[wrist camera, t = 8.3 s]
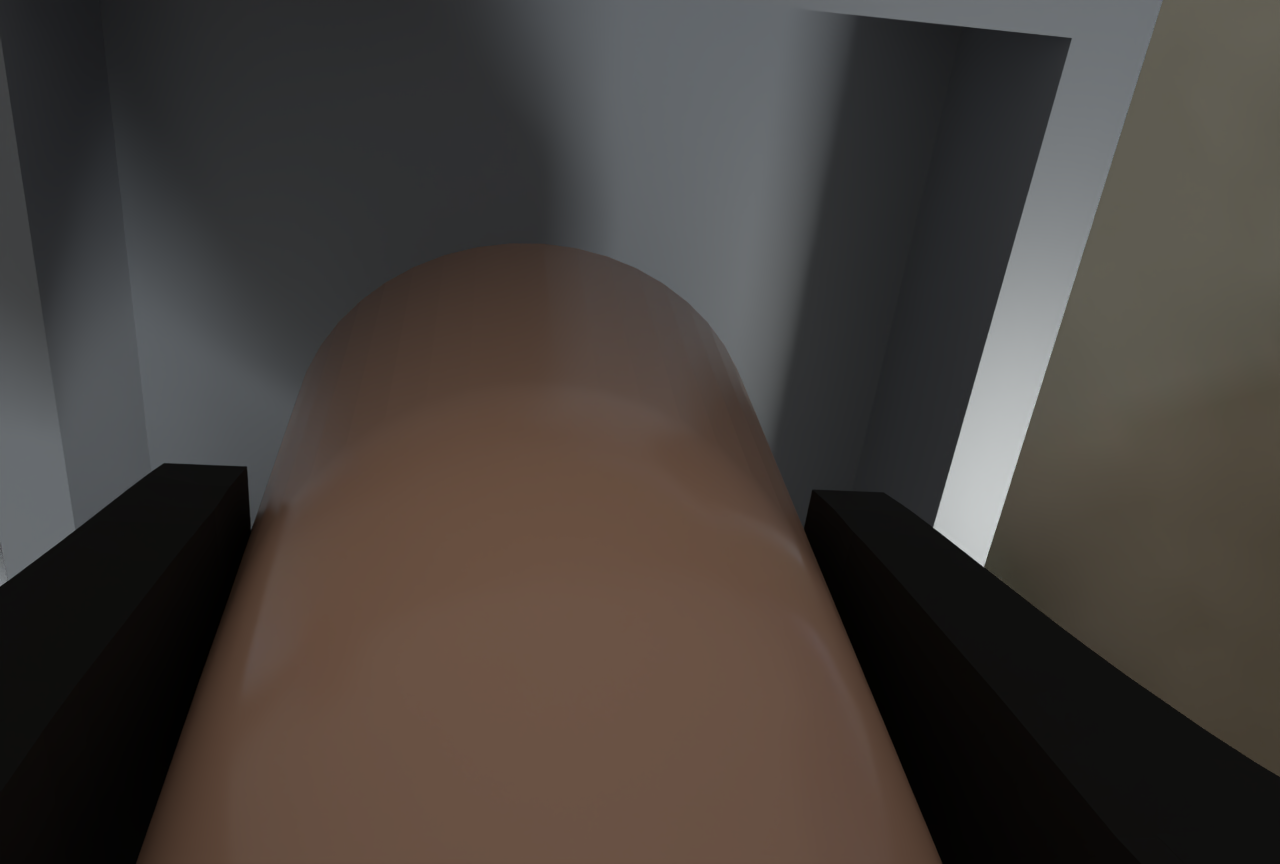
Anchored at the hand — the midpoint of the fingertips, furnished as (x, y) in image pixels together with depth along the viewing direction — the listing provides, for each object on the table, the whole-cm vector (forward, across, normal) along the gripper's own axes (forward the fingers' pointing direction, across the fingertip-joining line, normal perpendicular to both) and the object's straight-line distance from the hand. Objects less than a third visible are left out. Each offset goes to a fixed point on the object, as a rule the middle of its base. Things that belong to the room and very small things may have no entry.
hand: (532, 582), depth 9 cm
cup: (+2, 0, 0) cm, 2 cm away
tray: (+5, 0, 0) cm, 5 cm away
